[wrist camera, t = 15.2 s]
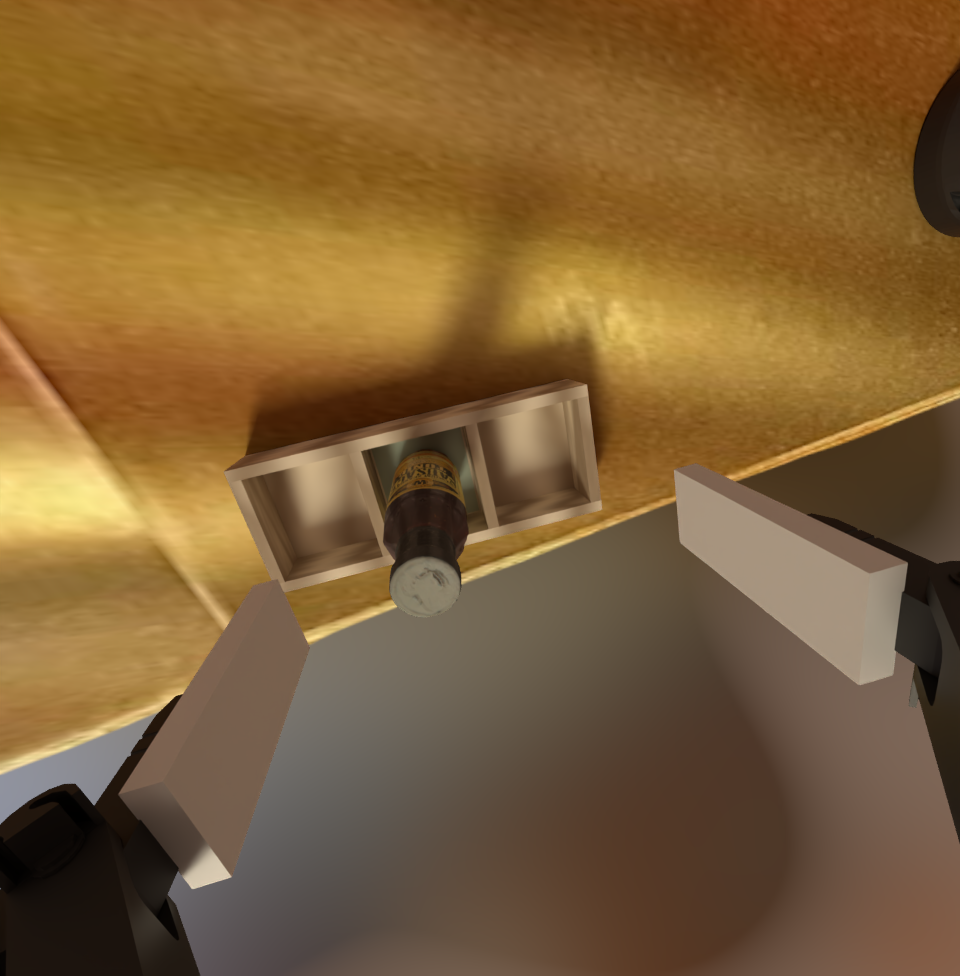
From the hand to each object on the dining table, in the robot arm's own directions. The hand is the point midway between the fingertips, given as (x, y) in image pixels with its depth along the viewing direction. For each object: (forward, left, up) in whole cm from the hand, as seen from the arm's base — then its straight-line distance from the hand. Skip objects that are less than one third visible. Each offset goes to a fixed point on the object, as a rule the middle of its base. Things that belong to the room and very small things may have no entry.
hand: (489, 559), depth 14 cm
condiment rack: (+3, +6, -29) cm, 30 cm away
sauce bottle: (+3, +6, -29) cm, 30 cm away
